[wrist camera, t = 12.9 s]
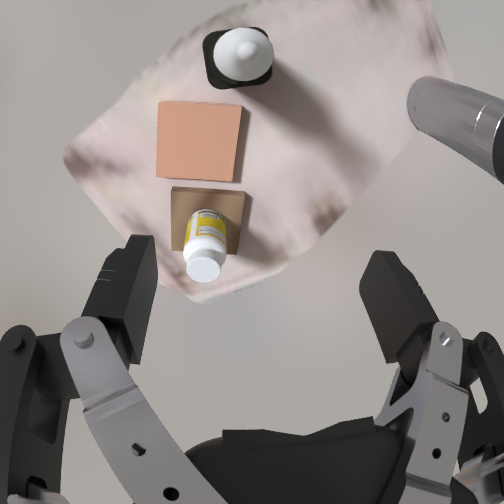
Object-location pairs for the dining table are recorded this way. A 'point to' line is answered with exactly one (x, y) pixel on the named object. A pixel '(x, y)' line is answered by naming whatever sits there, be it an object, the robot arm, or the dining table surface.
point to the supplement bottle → (205, 245)
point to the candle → (238, 57)
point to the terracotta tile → (197, 140)
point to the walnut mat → (197, 199)
